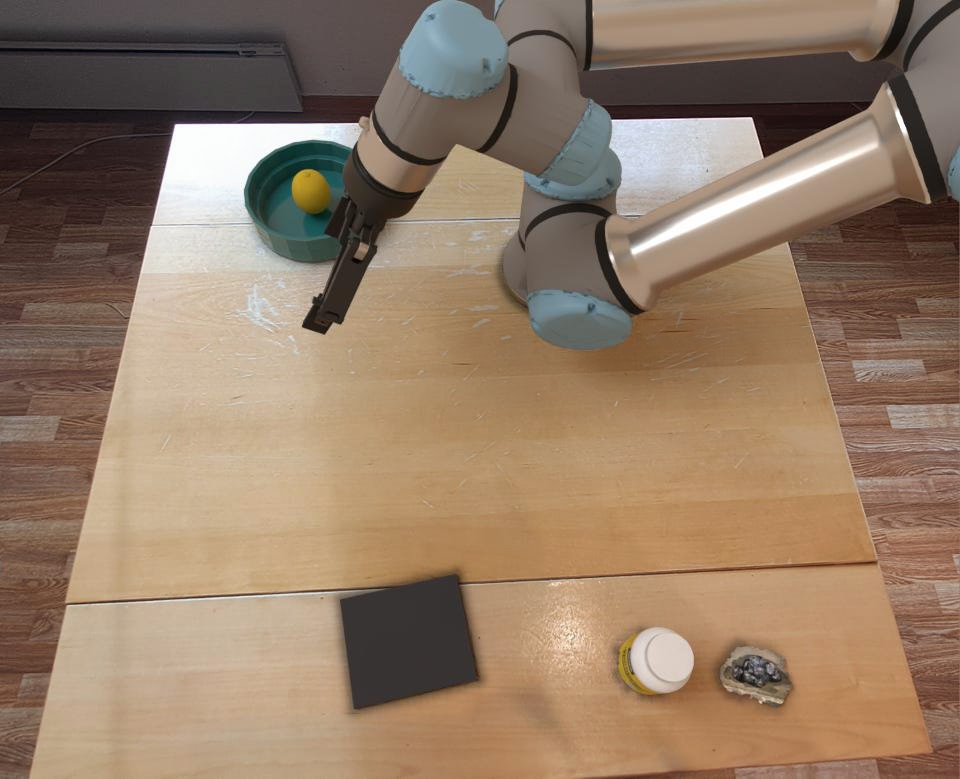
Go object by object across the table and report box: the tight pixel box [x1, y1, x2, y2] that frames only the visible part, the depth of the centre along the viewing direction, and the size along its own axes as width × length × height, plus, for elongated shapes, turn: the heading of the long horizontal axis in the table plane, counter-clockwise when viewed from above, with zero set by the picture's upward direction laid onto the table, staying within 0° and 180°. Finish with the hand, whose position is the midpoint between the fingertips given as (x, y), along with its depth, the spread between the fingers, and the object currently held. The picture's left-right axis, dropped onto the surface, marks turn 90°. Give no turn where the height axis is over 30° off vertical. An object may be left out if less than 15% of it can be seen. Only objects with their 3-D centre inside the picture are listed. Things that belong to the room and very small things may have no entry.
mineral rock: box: [718, 645, 794, 709], centre depth 78 cm, size 7×8×2 cm
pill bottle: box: [616, 626, 695, 696], centre depth 74 cm, size 6×6×12 cm
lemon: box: [292, 169, 331, 214], centre depth 102 cm, size 6×6×8 cm
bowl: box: [243, 139, 358, 263], centre depth 104 cm, size 19×19×6 cm
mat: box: [339, 573, 478, 710], centre depth 79 cm, size 14×12×1 cm
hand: (324, 280), depth 80 cm, fingers open, 13 cm apart
